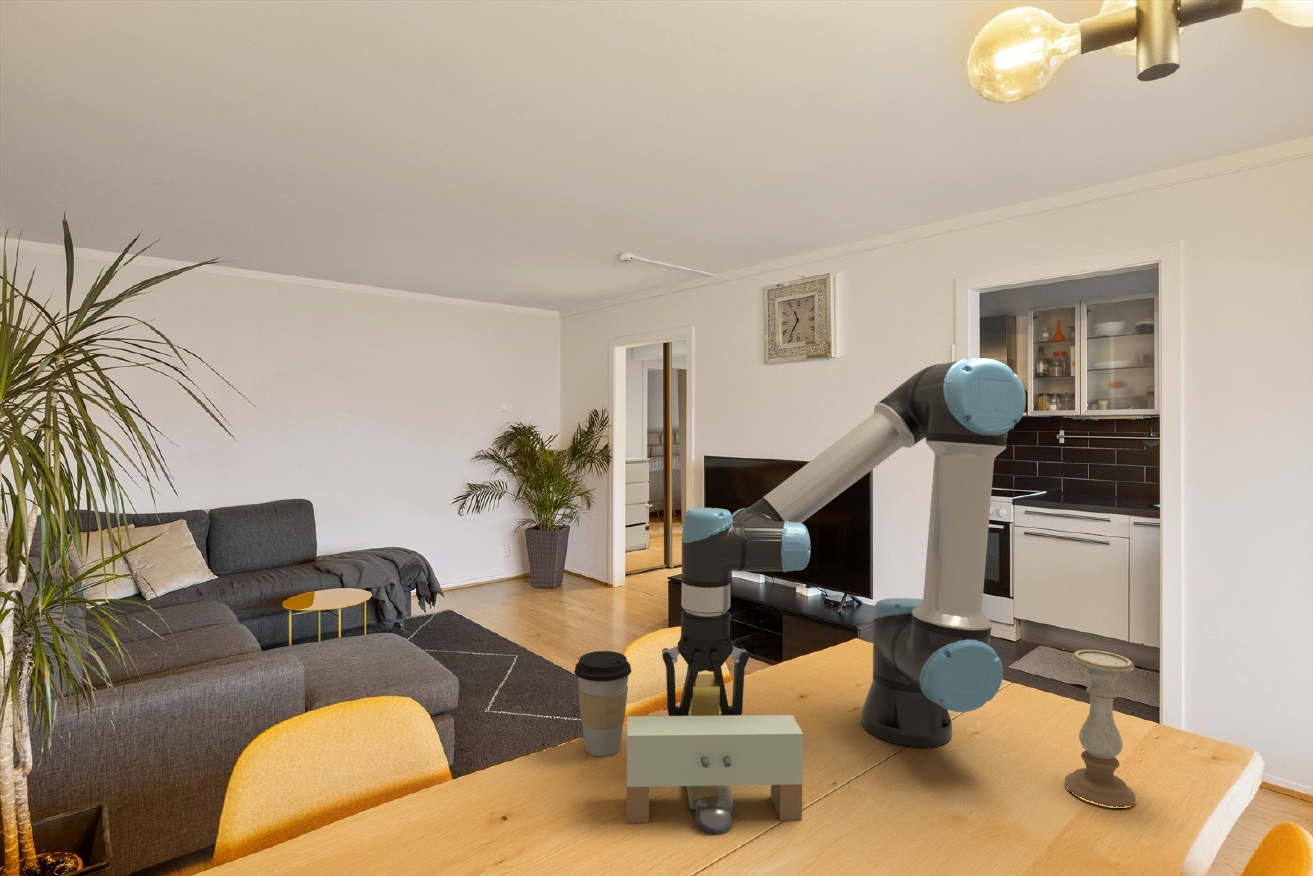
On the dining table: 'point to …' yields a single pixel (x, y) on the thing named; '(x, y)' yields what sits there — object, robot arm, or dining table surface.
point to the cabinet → (715, 757)
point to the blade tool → (706, 705)
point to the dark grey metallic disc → (714, 815)
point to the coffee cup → (602, 700)
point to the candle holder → (1101, 733)
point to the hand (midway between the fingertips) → (703, 759)
